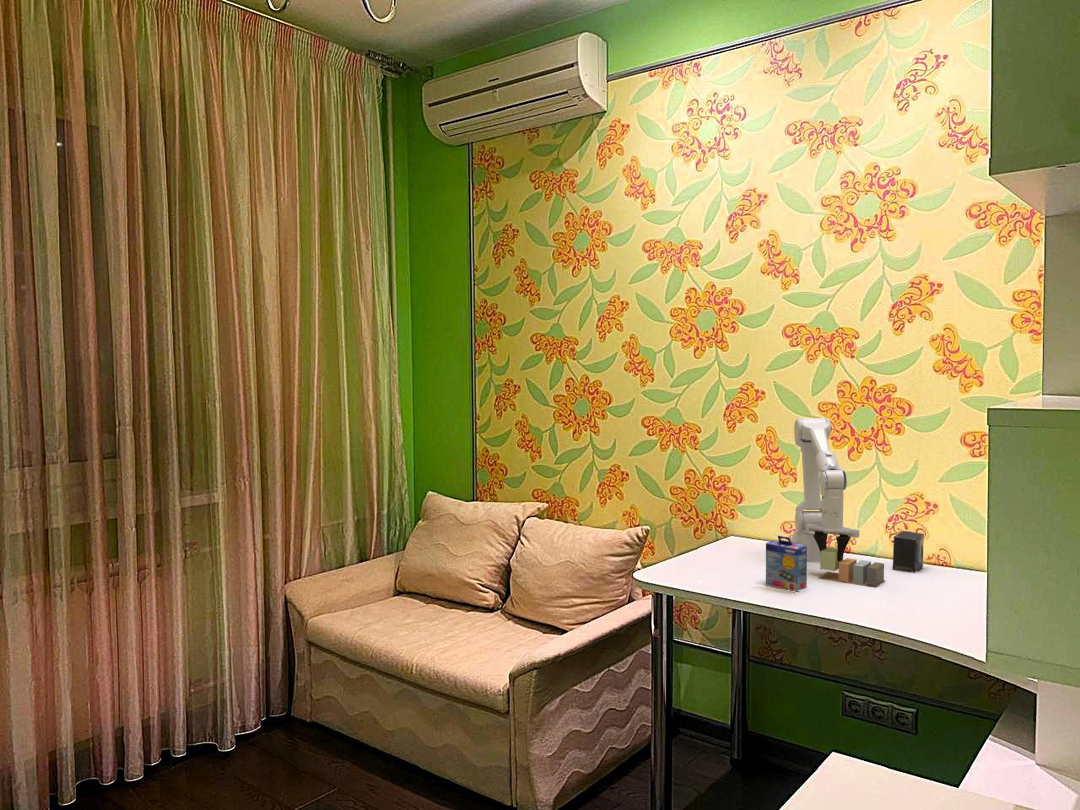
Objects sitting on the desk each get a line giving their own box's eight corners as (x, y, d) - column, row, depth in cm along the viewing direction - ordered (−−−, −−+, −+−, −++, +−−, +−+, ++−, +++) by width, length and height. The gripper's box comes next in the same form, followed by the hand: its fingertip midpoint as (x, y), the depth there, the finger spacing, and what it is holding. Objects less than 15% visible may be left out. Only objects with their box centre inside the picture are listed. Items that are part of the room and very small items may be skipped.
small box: (915, 575, 238) (916, 539, 237) (891, 571, 242) (892, 536, 241) (924, 567, 246) (925, 532, 246) (901, 564, 250) (901, 530, 250)
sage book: (820, 568, 234) (820, 551, 234) (829, 563, 239) (829, 546, 239) (834, 571, 231) (834, 553, 231) (843, 565, 237) (843, 548, 237)
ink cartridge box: (764, 586, 228) (764, 534, 227) (774, 582, 232) (775, 531, 231) (797, 593, 221) (797, 539, 220) (807, 589, 225) (808, 536, 224)
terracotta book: (838, 580, 231) (838, 562, 230) (847, 575, 236) (847, 558, 236) (847, 582, 229) (848, 564, 229) (856, 576, 235) (856, 559, 234)
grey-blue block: (853, 583, 228) (853, 565, 228) (861, 577, 234) (861, 560, 233) (862, 584, 227) (863, 566, 226) (870, 579, 232) (871, 561, 232)
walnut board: (816, 580, 234) (817, 578, 234) (828, 573, 241) (828, 571, 240) (875, 589, 224) (875, 587, 223) (885, 582, 231) (885, 580, 230)
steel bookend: (866, 585, 226) (867, 567, 226) (874, 579, 231) (875, 562, 231) (875, 586, 224) (876, 568, 224) (883, 581, 230) (884, 563, 230)
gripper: (801, 511, 236) (801, 558, 237) (853, 517, 227) (853, 566, 227) (811, 507, 241) (810, 553, 242) (862, 513, 232) (861, 561, 233)
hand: (831, 559), depth 235 cm, fingers closed on sage book, 4 cm apart
